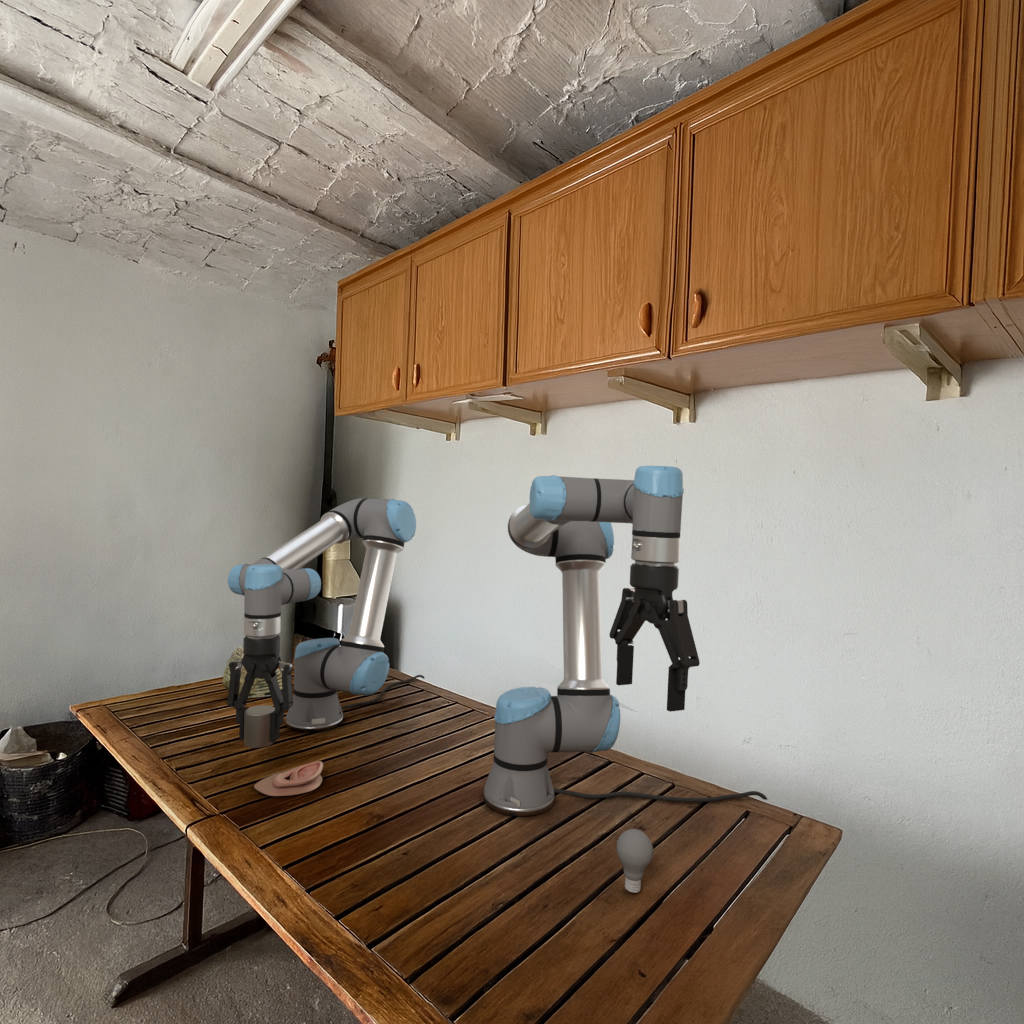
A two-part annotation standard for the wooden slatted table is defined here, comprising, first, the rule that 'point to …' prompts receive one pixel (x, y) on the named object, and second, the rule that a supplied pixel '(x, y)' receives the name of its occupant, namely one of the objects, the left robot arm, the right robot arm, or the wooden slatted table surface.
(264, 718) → the can
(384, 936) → the wooden slatted table surface
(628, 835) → the light bulb
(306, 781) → the anatomical model
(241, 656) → the fossil
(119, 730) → the wooden slatted table surface
